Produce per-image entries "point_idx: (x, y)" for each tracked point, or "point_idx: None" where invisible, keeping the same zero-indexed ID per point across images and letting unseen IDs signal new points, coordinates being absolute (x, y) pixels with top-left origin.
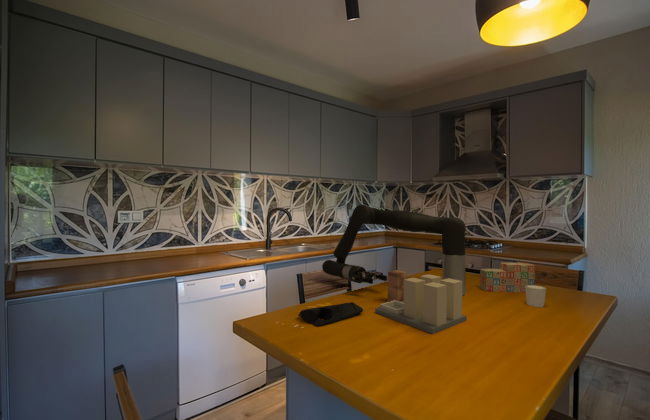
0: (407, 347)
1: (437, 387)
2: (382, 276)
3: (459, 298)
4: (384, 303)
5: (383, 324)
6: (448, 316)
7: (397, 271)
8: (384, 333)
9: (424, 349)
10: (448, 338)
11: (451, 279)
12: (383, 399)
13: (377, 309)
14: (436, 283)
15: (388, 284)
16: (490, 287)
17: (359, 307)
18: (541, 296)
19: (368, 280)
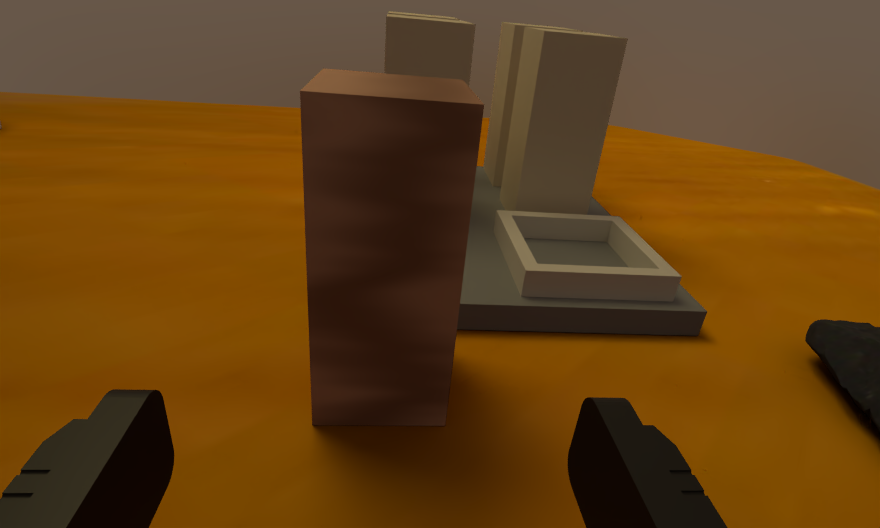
0: (689, 191)
1: (700, 154)
2: (105, 499)
3: None
4: (640, 270)
5: (705, 258)
6: None
7: (365, 85)
8: (731, 232)
9: (648, 178)
10: None
11: (400, 13)
12: (809, 168)
13: (695, 300)
14: (520, 24)
15: (462, 265)
16: None
17: (846, 328)
18: None
19: (672, 470)
